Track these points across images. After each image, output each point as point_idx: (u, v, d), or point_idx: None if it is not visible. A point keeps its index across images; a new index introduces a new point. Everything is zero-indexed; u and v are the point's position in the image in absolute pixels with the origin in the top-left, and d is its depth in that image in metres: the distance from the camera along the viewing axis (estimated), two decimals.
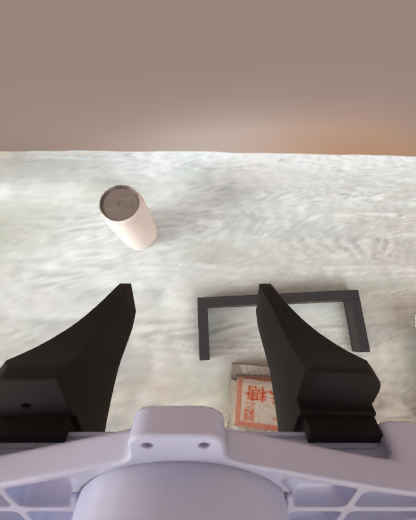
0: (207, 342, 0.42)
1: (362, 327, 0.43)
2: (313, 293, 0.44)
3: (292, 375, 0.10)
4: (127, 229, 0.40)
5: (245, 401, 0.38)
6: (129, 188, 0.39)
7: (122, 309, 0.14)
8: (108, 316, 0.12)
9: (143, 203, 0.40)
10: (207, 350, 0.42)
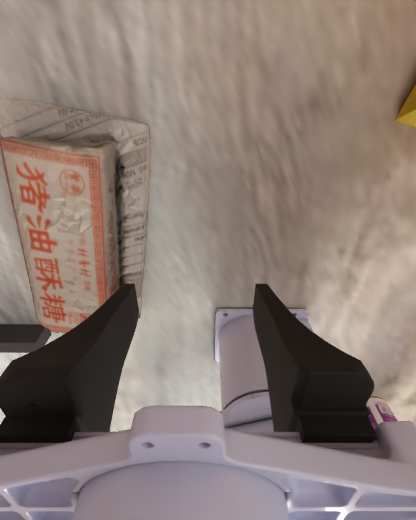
0: (10, 343, 0.27)
1: None
2: None
3: (287, 375, 0.10)
4: None
5: (69, 322, 0.23)
6: None
7: (126, 309, 0.14)
8: (112, 316, 0.12)
9: None
10: (22, 344, 0.28)
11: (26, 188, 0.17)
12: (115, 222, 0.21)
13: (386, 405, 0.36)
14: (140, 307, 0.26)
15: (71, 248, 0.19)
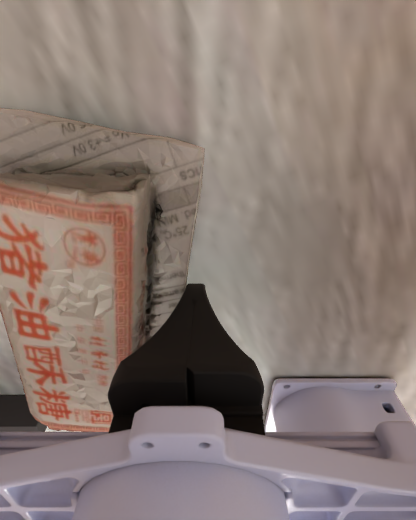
0: (3, 427, 0.21)
1: None
2: None
3: None
4: None
5: (75, 420, 0.16)
6: None
7: None
8: (193, 316, 0.12)
9: None
10: (19, 428, 0.21)
11: (9, 254, 0.11)
12: (144, 287, 0.14)
13: None
14: None
15: (81, 335, 0.12)
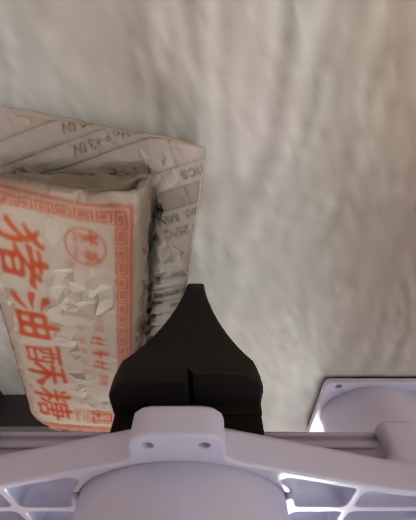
0: None
1: None
2: None
3: None
4: None
5: (76, 420, 0.16)
6: None
7: None
8: (194, 316, 0.12)
9: None
10: None
11: (10, 254, 0.11)
12: (145, 287, 0.14)
13: None
14: None
15: (82, 335, 0.12)
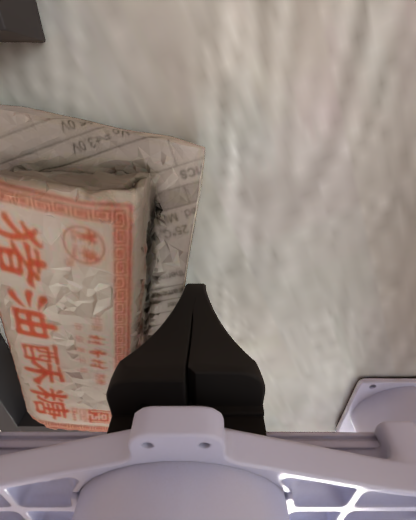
0: None
1: None
2: None
3: None
4: None
5: (72, 419, 0.16)
6: None
7: None
8: (192, 316, 0.12)
9: None
10: None
11: (8, 251, 0.11)
12: (143, 286, 0.14)
13: None
14: None
15: (80, 334, 0.12)
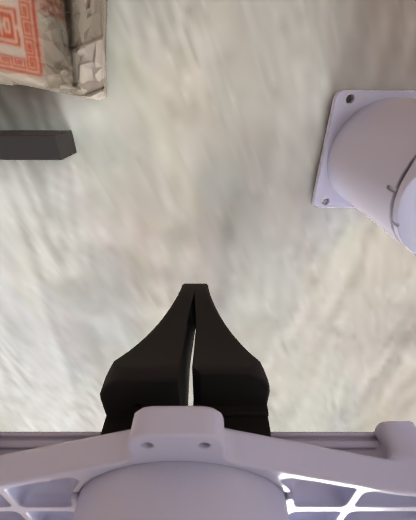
0: (16, 138, 0.18)
1: None
2: None
3: None
4: None
5: None
6: None
7: (192, 309, 0.14)
8: (188, 316, 0.12)
9: None
10: (34, 139, 0.18)
11: None
12: None
13: None
14: (103, 68, 0.17)
15: None
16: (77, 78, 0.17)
